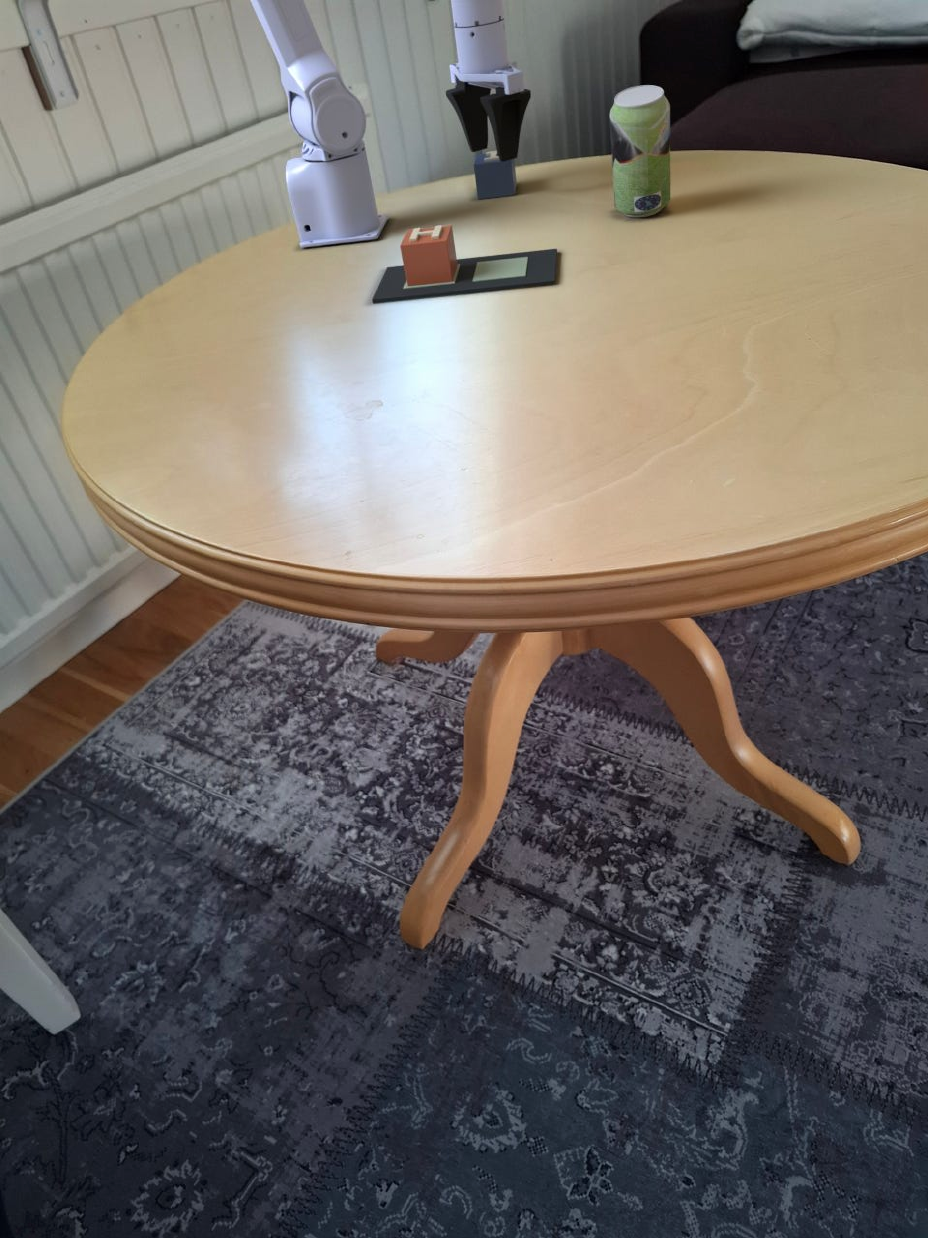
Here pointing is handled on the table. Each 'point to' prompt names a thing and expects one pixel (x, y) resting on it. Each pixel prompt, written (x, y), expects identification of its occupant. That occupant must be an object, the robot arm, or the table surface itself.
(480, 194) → the blue cube
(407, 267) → the red letter block
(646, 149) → the beverage can
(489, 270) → the word mat
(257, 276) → the table surface
